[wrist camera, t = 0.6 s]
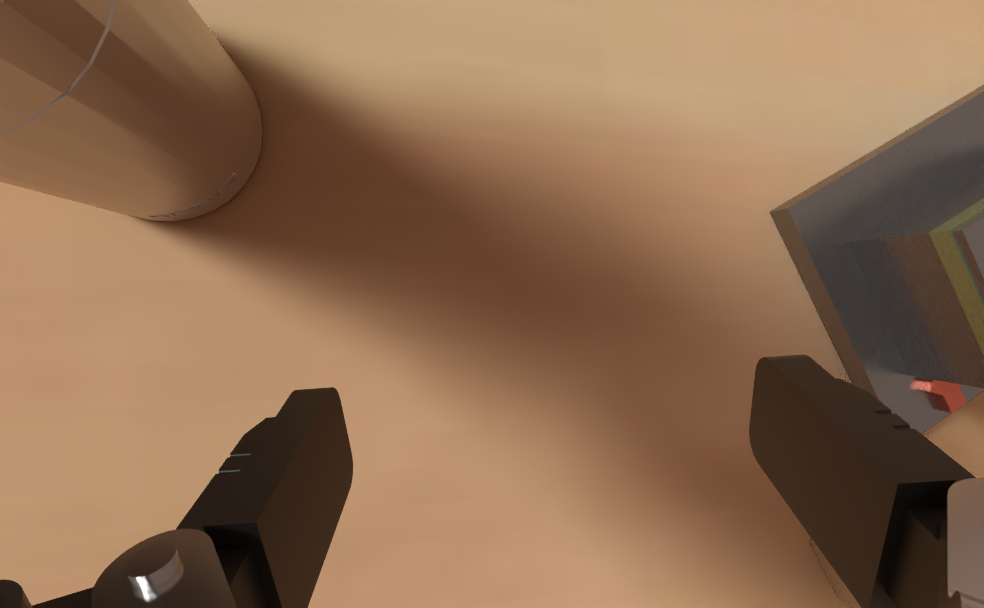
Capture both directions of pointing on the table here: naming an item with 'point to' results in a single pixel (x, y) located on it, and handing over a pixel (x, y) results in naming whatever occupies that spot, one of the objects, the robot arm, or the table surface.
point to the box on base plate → (902, 263)
